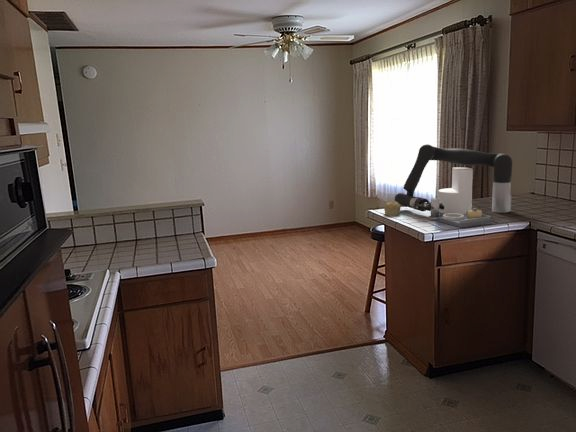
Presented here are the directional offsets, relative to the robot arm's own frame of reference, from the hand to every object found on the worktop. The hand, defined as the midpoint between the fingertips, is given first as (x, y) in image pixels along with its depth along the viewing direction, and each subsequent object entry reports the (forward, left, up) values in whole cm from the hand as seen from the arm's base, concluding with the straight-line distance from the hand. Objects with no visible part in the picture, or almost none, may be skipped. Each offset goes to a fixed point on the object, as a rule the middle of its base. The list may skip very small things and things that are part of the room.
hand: (437, 208), depth 257 cm
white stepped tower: (-23, -14, -7) cm, 28 cm away
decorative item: (+12, -26, -7) cm, 29 cm away
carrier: (-9, +11, -7) cm, 16 cm away
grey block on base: (0, -2, -7) cm, 7 cm away
